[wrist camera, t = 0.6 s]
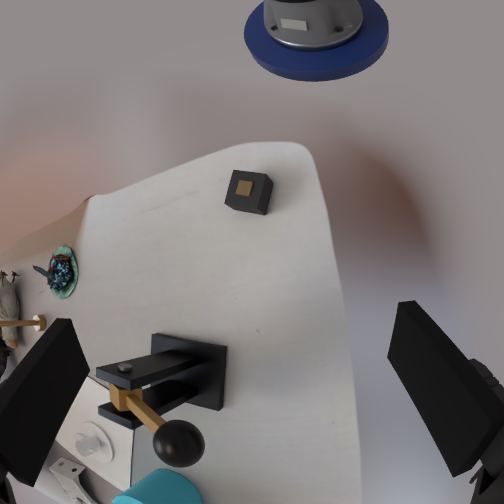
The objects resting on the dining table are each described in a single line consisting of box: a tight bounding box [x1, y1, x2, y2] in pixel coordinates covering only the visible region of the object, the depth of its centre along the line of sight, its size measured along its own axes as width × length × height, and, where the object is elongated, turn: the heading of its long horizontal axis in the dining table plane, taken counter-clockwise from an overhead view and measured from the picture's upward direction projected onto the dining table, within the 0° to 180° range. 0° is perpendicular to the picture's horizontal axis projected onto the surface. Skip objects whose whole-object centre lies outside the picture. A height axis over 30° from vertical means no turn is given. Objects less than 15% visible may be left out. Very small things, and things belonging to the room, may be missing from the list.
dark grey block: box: [225, 170, 273, 215], centre depth 35 cm, size 4×4×3 cm
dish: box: [33, 246, 78, 299], centre depth 46 cm, size 8×7×8 cm
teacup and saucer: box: [56, 377, 133, 492], centre depth 39 cm, size 9×8×4 cm
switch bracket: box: [96, 333, 227, 430], centre depth 30 cm, size 10×8×14 cm
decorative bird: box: [0, 270, 20, 348], centre depth 49 cm, size 5×16×8 cm
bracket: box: [49, 457, 98, 504], centre depth 41 cm, size 11×4×10 cm
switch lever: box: [109, 383, 205, 468], centre depth 22 cm, size 13×4×4 cm, turn 85°
